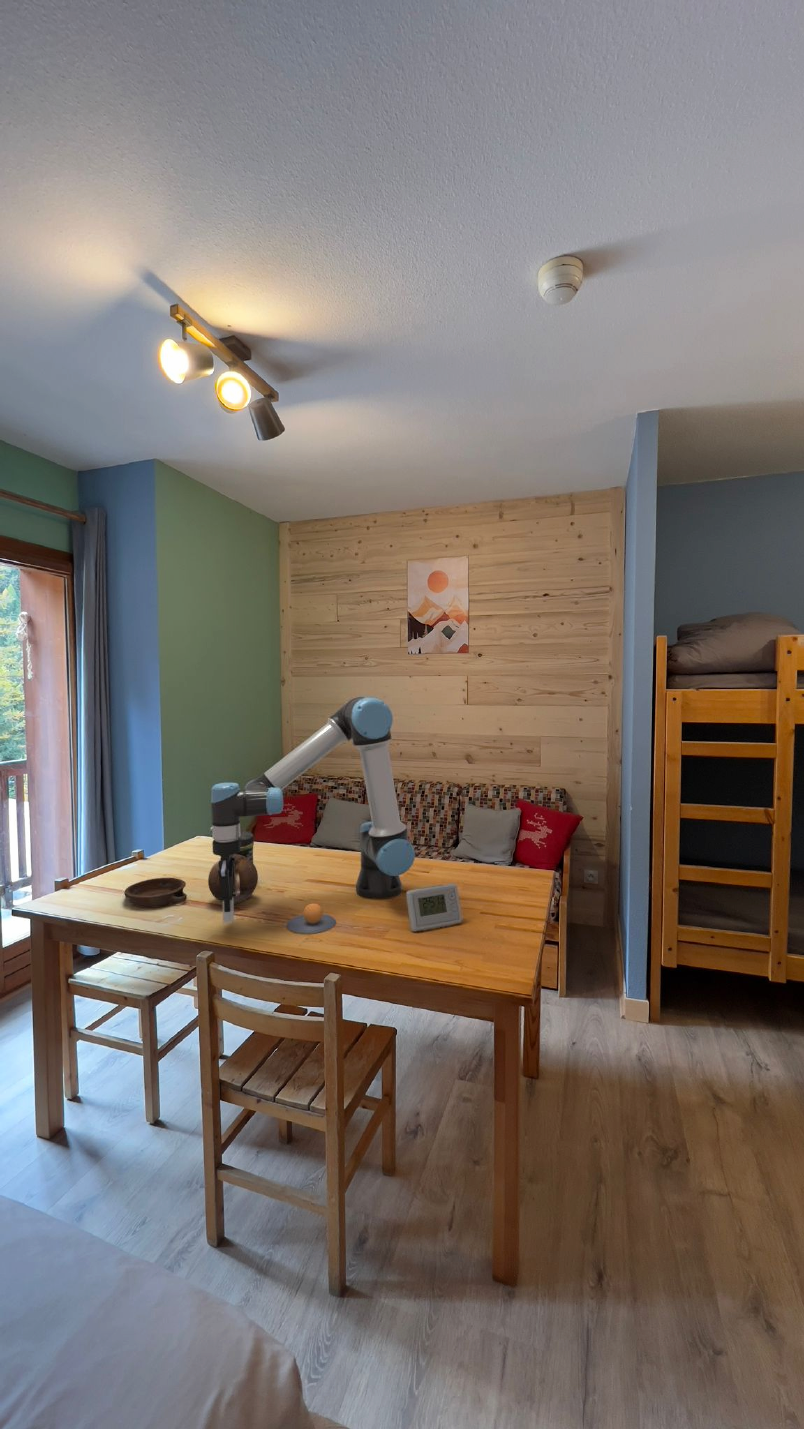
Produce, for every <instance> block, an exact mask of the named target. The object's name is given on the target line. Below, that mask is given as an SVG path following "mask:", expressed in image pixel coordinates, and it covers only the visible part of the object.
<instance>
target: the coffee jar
mask: <svg viewBox="0 0 804 1429" xmlns="http://www.w3.org/2000/svg"><path fill="white" fill-rule="evenodd" d="M239 839H240V846H241V850H240V852H239V853H237V854H236V855H242V856H244V857H246V858H248V859H249V860H251V861H252V863H253V864H254V845H255V844H254V843H255V841H254V839H255V838H254V834H253V833H252V832H251V831H246V830H245V831H241V830H240V837H239Z"/></svg>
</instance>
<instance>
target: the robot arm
mask: <svg viewBox="0 0 804 1429" xmlns="http://www.w3.org/2000/svg"><path fill="white" fill-rule="evenodd" d="M393 721H394V720H393V713H392V711H391V709H390V707H389V705H388V704H387V703H385V702H384V701H382V700H380V699H379V698H377V697H371V696H369V697H368V696H367V697H366V696H359V697H354V698H352V699H350V700H349V701H347V702H346V703H345V704H343V705H342V706H341V707H340V708H339V709H338V710H337V711H336V712H334V713H333V714H332V715H330V716H329V717H328V718H327V723H326V724H325V725H324V726H322V727H321V728H320V729H318V730H317V731H316V732H314V733H313V734H311V736H309V737H308V738H307V739H306V740H305V741H303V742H302V743H301V744H299V745H298V746H296V747H295V748H294V749H293V750H291V751H290V752H289V753H288V754H286V755H285V756H284V757H283V758H281V759H280V760H279V761H277V762H276V763H275V764H274V765H272V766H271V767H270V768H269V769H268V770H266V771H265V772H264V773H263V774H261V775H260V776H259V777H257V778H256V779H252V780H251V781H249V782H248V783H247V784H246V785H245V786H244V789H241V788H240V785H239V784H238V783H237V782H219V783H216V784H214V785H213V786H212V787H211V798H210V799H211V800H210V804H211V809H210V810H211V827H210V828H209V831H211V832H212V833H211V834H212V839H213V840H212V853H213V855H215V856H219V857H220V858H219V860H220V861H219V868H220V870H218V875H219V882H220V894H221V898H220V899H219V900H220V901H223V902H222V923H234V921H235V916H234V915H235V911H234V905H235V904H233V898H232V897H236V894H233V892H234V891H235V889H234V885H235V860H236V858H235V857H233V855H234V854H237V853H239V852H240V850H241V846H240V839H239V837H240V831H241V820H240V819H241V817H243V818H244V817H251V816H252V817H254V816H256V817H257V816H268V815H269V816H272V815H276V814H281V813H282V812H283V809H284V796H283V794H284V793H283V790H284V789H285V788H286V787H287V786H289V785H290V784H292V782H294V781H295V780H296V779H297V778H299V777H300V776H301V775H303V774H304V773H305V772H306V771H308V770H309V769H311V768H312V767H313V766H314V765H315V764H316V763H318V762H319V761H320V760H322V759H323V758H324V757H325V756H327V755H328V754H329V753H331V751H333V750H334V749H336V748H337V747H338V746H339V745H340V744H342V743H344V742H345V743H348V742H350V741H351V740H352V744H353V747H355V748H356V749H358V751H359V754H360V755H359V756H360V760H361V761H360V762H361V768H362V773H363V778H364V784H365V790H366V791H365V792H366V796H367V802H368V807H369V812H370V817H371V821H367V822H364V823H362V824H361V825H360V831H359V835H360V838H359V840H360V870H359V873H358V877H357V880H356V883H355V893H356V894H357V896H360V897H362V898H365V899H371V900H382V899H384V900H385V899H388V898H393V897H396V896H399V895H400V894H401V893H402V892H403V891H402V890H403V888H402V887H403V886H402V880H401V877H400V876H401V875H403V874H406V872H408V871H409V870H410V869H411V867H412V866H413V865H414V862H415V858H416V852H415V849H414V846H413V845H412V842H410V841H409V836H408V829H407V825H406V824H405V823H404V822H402V821H401V817H400V812H399V806H398V801H397V794H396V787H395V783H394V775H393V769H392V764H391V758H390V751H389V744H390V742H391V741H392V733H391V732H392V731H391V728H392V726H393ZM219 900H218V901H219ZM220 901H219V902H220Z"/></svg>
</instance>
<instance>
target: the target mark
mask: <svg viewBox="0 0 804 1429" xmlns="http://www.w3.org/2000/svg"><path fill="white" fill-rule="evenodd" d="M336 922H337V921H336V919H335V918H334V917H333V916H331V915H328V914H325V913H323V915H322V918H321V920H320V921H319V922H317V923H315V924H310V923H308V922H306V921H305V919H304V916H303V914H299V915H297V916H294V917H292V918H291V919H289V920H288V921H287V922H286V925H285V927H286V929H287V930H289V931H290V932H291V931H292V932H291V933H294V934H300V935H314V934H320V933H323V932H324V933H325V932H327V931H329V930H331V929H332V928H334V927H335V926H336V924H337V923H336Z"/></svg>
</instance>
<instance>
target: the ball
mask: <svg viewBox="0 0 804 1429" xmlns="http://www.w3.org/2000/svg"><path fill="white" fill-rule="evenodd" d="M323 914H324V913H323V909H322V907H321V906H320V905H319V904H317V903H310V904H308V905H306V906H305V908H304V910H303V914H302V915H303V916H304V919H305V921H306V922H308V923H310V924H315V923H317V922H319V921H320V920H321V918H322V915H323Z"/></svg>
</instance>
